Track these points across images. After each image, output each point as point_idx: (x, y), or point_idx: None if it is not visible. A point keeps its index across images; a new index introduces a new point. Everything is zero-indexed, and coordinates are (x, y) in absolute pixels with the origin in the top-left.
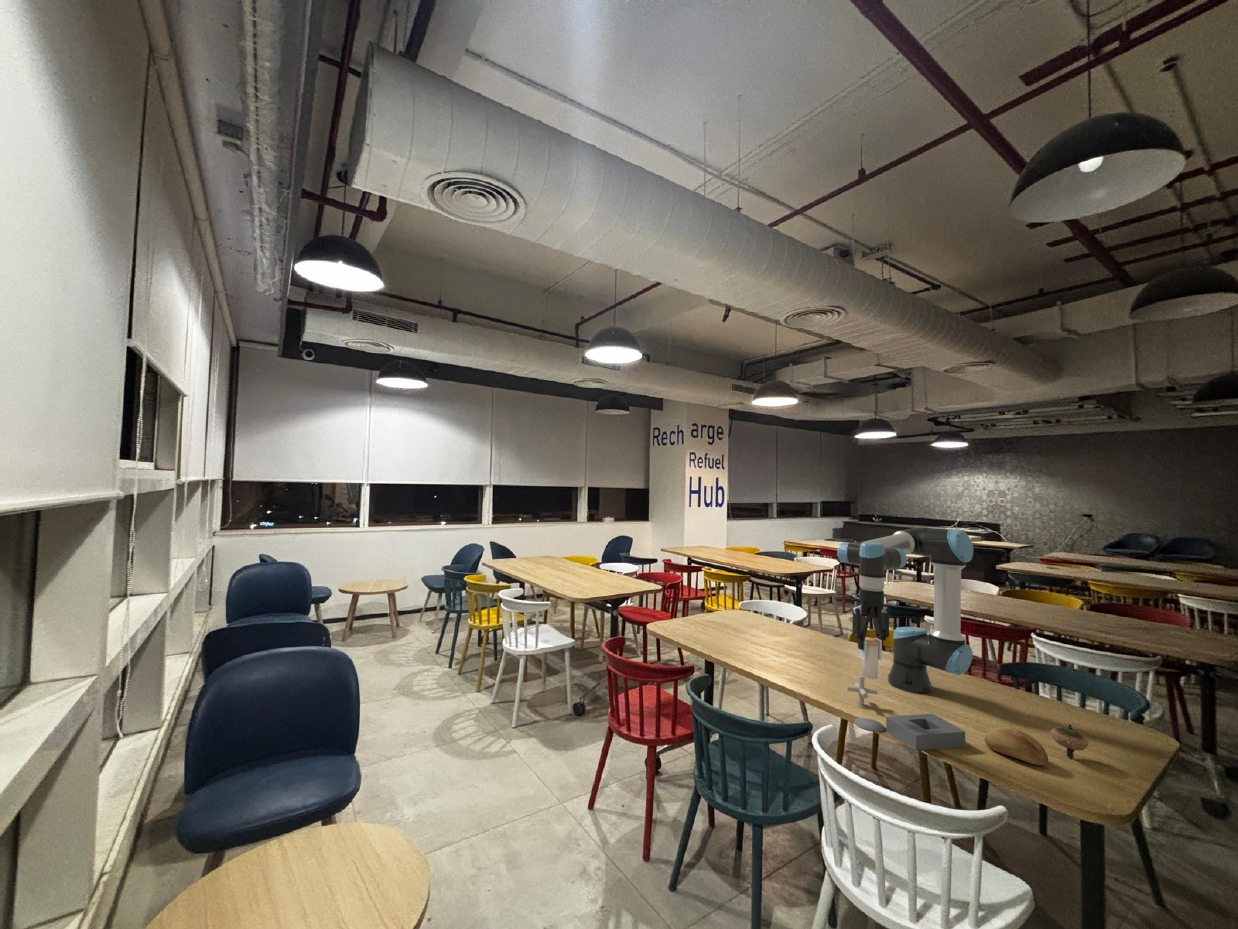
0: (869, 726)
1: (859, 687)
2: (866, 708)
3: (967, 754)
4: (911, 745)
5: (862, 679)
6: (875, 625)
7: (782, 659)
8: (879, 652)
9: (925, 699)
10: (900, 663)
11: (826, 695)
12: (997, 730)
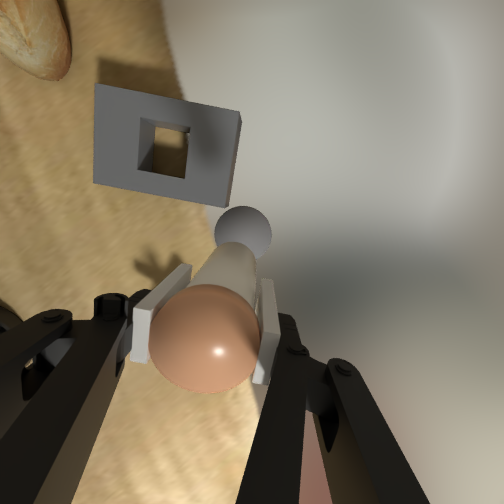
0: (251, 227)
1: None
2: None
3: (143, 70)
4: (239, 133)
5: None
6: (81, 455)
7: (172, 498)
8: (180, 279)
9: (12, 282)
10: None
11: None
12: (21, 10)
